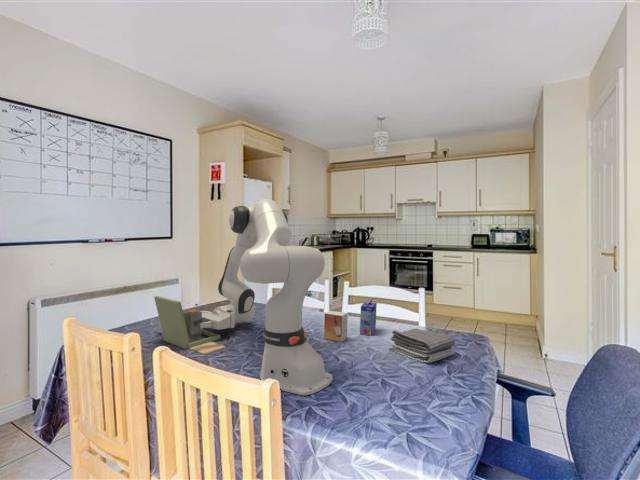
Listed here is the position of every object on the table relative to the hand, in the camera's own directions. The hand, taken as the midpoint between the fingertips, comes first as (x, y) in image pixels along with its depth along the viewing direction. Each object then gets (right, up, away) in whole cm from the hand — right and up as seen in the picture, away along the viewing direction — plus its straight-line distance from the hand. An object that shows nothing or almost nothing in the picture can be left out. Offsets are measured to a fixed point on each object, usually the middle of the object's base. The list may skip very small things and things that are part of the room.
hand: (192, 323), depth 133 cm
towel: (+87, -8, -12) cm, 88 cm away
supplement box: (-13, -6, +9) cm, 17 cm away
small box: (+57, -7, +3) cm, 57 cm away
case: (-2, -6, 0) cm, 7 cm away
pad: (+9, -7, -9) cm, 15 cm away
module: (0, -6, 0) cm, 7 cm away
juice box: (+71, -7, +12) cm, 72 cm away
